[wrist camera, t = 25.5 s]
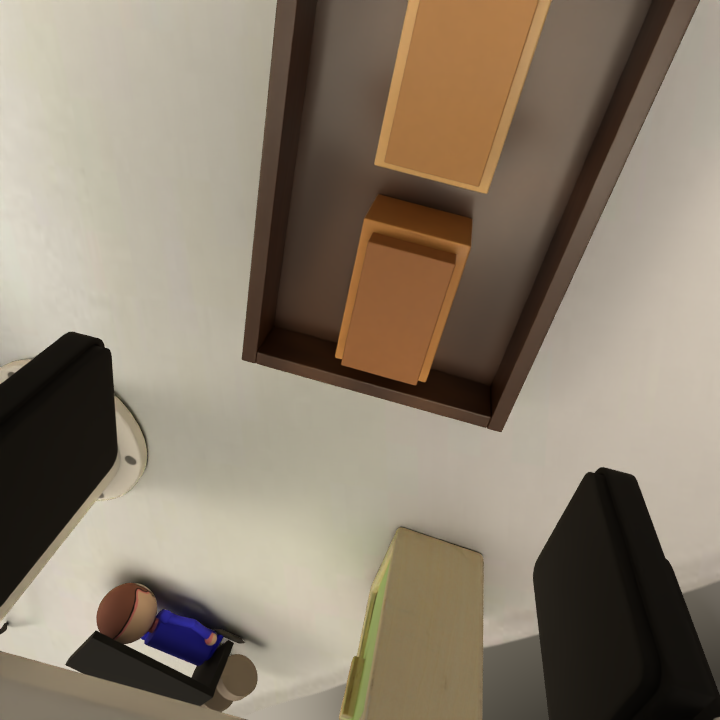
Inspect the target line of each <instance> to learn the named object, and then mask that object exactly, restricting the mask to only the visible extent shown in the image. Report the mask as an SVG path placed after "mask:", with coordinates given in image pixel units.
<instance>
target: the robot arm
mask: <svg viewBox="0 0 720 720" xmlns="http://www.w3.org/2000/svg"><path fill="white" fill-rule="evenodd" d="M146 464H147V449H146V444H145V439H144V437H143V434H142V432H141V430H140V427H139V425H138V424H137V422H136V420H135V419H134V417H133V416H132V414H131V413H130V411H129V410H128V409H127V408H126V407H125V406H124V404H123V403H122V402H121V401H120V400H119V399H118V398H117V397H116V396H115V395H114V385H113V370H112V356H111V352H110V350H109V349H108V348H105V347H104V343H103V341H102V340H101V339H99V338H95V337H91V336H87V335H83V334H79V333H76V332H68V333H66V334H64V335H63V336H62V337H60V338H59V339H58V340H57V341H55V342H54V343H53V344H51V345H50V346H49V347H48V348H46V349H45V350H44V351H42V352H41V353H40V354H39V355H37V356H36V357H35V358H33V359H24V360H18V361H13V362H11V363H8V364H6V365H4V366H2V367H1V368H0V622H1V621H2V619H3V618H4V617H5V616H6V614H7V613H8V612H9V610H10V609H11V608H12V607H13V605H14V604H15V603H16V602H17V600H18V599H19V598H20V597H21V595H22V594H23V593H24V591H25V590H26V589H27V588H28V586H29V585H30V584H31V583H32V581H33V580H34V579H35V577H36V576H37V575H38V574H39V572H40V571H41V570H42V569H43V567H44V566H45V565H46V564H47V562H48V561H49V560H50V558H51V557H52V556H53V555H54V553H55V552H56V551H57V550H58V548H59V547H60V546H61V544H62V543H63V542H64V541H65V539H66V538H67V537H68V536H69V534H70V533H71V532H72V530H73V529H74V528H75V527H76V525H77V524H78V523H79V522H80V520H81V519H82V518H83V517H84V515H85V514H86V513H87V511H88V510H89V509H90V508H91V506H92V505H93V504H94V503H95V501H105V500H111V499H114V498H118V497H120V496H122V495H124V494H126V493H127V492H129V491H130V490H131V489H132V488H133V487H134V486H135V485H136V483H137V482H138V480H139V479H140V477H141V476H142V474H143V473H144V470H145V467H146ZM533 583H534V592H535V601H536V610H537V618H538V627H539V636H540V644H541V653H542V662H543V671H544V680H545V688H546V697H547V706H548V715H549V720H720V695H719V692H718V690H717V686H716V684H715V681H714V678H713V676H712V673H711V670H710V668H709V665H708V662H707V660H706V657H705V654H704V651H703V649H702V646H701V643H700V641H699V638H698V635H697V632H696V630H695V627H694V624H693V622H692V619H691V616H690V614H689V611H688V608H687V606H686V603H685V601H684V598H683V595H682V592H681V589H680V587H679V584H678V581H677V579H676V576H675V573H674V571H673V568H672V566H671V565H670V563H669V561H668V560H667V559H666V558H665V556H664V553H663V551H662V548H661V545H660V542H659V540H658V537H657V534H656V531H655V529H654V526H653V523H652V520H651V518H650V515H649V512H648V509H647V507H646V504H645V501H644V498H643V496H642V493H641V490H640V488H639V485H638V482H637V480H636V478H635V477H634V476H633V475H631V474H628V473H624V472H620V471H616V470H612V469H608V468H604V467H601V468H599V469H598V470H597V471H596V472H595V473H592V472H588V473H586V475H585V476H584V477H583V479H582V481H581V483H580V485H579V486H578V488H577V490H576V492H575V493H574V495H573V497H572V499H571V500H570V502H569V504H568V506H567V507H566V509H565V511H564V513H563V515H562V516H561V518H560V520H559V522H558V523H557V525H556V527H555V529H554V530H553V532H552V534H551V536H550V538H549V539H548V541H547V543H546V545H545V546H544V548H543V550H542V552H541V553H540V555H539V557H538V559H537V561H536V563H535V566H534V572H533ZM0 720H246V719H243V718H240V717H236V716H233V715H229V714H225V713H222V712H218V711H215V710H211V709H208V708H204V707H200V706H197V705H193V704H190V703H186V702H183V701H179V700H176V699H172V698H168V697H165V696H161V695H158V694H154V693H151V692H147V691H143V690H140V689H136V688H133V687H129V686H125V685H122V684H118V683H114V682H111V681H107V680H104V679H100V678H96V677H93V676H89V675H85V674H82V673H78V672H75V671H71V670H67V669H64V668H60V667H56V666H53V665H49V664H46V663H42V662H38V661H35V660H31V659H27V658H24V657H20V656H17V655H13V654H9V653H6V652H2V651H0Z"/></svg>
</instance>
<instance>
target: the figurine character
mask: <svg viewBox="0 0 720 720" xmlns="http://www.w3.org/2000/svg"><path fill="white" fill-rule="evenodd" d="M156 614H157V602H156V599H155V596H154V594H153V593H152V592H151V590H150V589H148V588H147V587H146V586H144V585H142V584H139V583H125V584H122V585H119V586H117V587H115V588H114V589H112V590H111V591H110V592H109V593H108V594H107V595H106V596H105V597H104V598H103V600H102V601H101V603H100V605H99V608H98V611H97V626H98V629H99V631H100V632H98V631H95V632H94V633H93V634H92V635H91V636H90V637H89V638H88V639H87V640H86V641H85V642H84V643H83V644H82V645H81V646H80V647H79V648H78V649H77V650H76V651H75V653H74V654H73V655H72V656H71V657H70V658H69V659H68V661H67V663H66V664H65V665H66V666H68V667H71V668H73V669H75V670H77V671H79V672H81V673H83V674H85V675H89V676H93V677H96V678H100V679H104V680H107V681H111V682H114V683H118V684H122V685H125V686H129V687H133V688H136V689H140V690H143V691H147V692H151V693H154V694H158V695H161V696H165V697H168V698H172V699H176V700H179V701H183V702H186V703H190V704H193V705H197V706H200V707H204V708H208V709H211V710H215V711H218V712H222V711H224V710H225V709H227V708H228V707H229V706H230V705H231V704H232V702H233V701H238V700H241V699H243V698H244V697H246V696H247V695H249V694H250V693H251V692H252V691H253V690H254V689H255V687H256V684H257V671H256V668H255V666H254V664H253V663H252V661H251V660H250V659H249V658H247V657H246V656H244V655H240V654H234V655H231V656H229V654H230V653H231V649H232V647H233V644H234V643H233V642H231V641H230V640H232V641H234V642H237V643H245V642H244V641H243V640H242V638H240V637H238V636H235V635H233V634H231V633H228V632H226V631H224V630H222V629H214V630H215V631H213V630H211V629H209V628H206V627H205V626H203V625H202V624H201V623H199V622H198V621H197V620H196V619H192V618H188V617H183V616H179V615H176V614H174V613H172V612H170V611H169V610H165V609H162V610H161V611H160V612H159V613H158V615H157V616H156ZM216 633H217V635H216ZM223 637H225V638H228V639H230V640H228V641H226V642H225V643H224V644H222V645H221V644H220V642H221V641H222V639H223ZM140 638H141V639H142V640H145V642H144V643H145V644H146V645H148V646H150V647H153V648H155V649H158V650H160V651H163V652H165V653H168V654H170V655H172V656H175V657H177V658H180V659H182V660H185V661H186V662H190V663H192V664H194V665H197V667H196V669H195V671H194V673H193V676H192V678H190V677H188V676H186V675H184V674H182V673H180V672H178V671H176V670H174V669H172V668H170V667H168V666H166V665H164V664H162V663H160V662H158V661H156V660H154V659H152V658H150V657H148V656H146V655H144V654H142V653H140V652H138V651H136V650H134V649H132V648H130V647H128V646H126V645H124V644H128V643H132V642H134V641H136V640H138V639H140Z"/></svg>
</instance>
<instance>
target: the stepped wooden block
mask: <svg viewBox="0 0 720 720" xmlns="http://www.w3.org/2000/svg"><path fill="white" fill-rule="evenodd" d="M551 1H552V0H408V5H407V10H406V14H405V19H404V24H403V29H402V34H401V38H400V43H399V48H398V53H397V57H396V62H395V67H394V72H393V76H392V81H391V86H390V91H389V95H388V100H387V105H386V110H385V114H384V119H383V124H382V129H381V133H380V138H379V143H378V148H377V152H376V157H375V162H374V165H376V166H380V167H384V168H388V169H392V170H395V171H399V172H403V173H407V174H411V175H415V176H419V177H422V178H426V179H430V180H434V181H438V182H442V183H445V184H449V185H453V186H457V187H461V188H465V189H469V190H472V191H476V192H480V193H484V194H487V193H488V191H489V188H490V185H491V182H492V179H493V176H494V173H495V170H496V167H497V164H498V161H499V158H500V155H501V152H502V149H503V146H504V143H505V140H506V137H507V134H508V131H509V128H510V125H511V122H512V119H513V116H514V113H515V110H516V107H517V104H518V101H519V98H520V95H521V92H522V89H523V86H524V82H525V79H526V76H527V73H528V70H529V67H530V64H531V61H532V58H533V55H534V52H535V49H536V46H537V43H538V40H539V37H540V34H541V31H542V28H543V25H544V22H545V19H546V16H547V13H548V10H549V7H550V4H551Z"/></svg>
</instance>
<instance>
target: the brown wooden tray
mask: <svg viewBox="0 0 720 720" xmlns="http://www.w3.org/2000/svg"><path fill="white" fill-rule="evenodd" d="M699 1H700V0H552V1H551V4H550V7H549V10H548V13H547V16H546V19H545V22H544V25H543V28H542V31H541V34H540V37H539V40H538V43H537V46H536V49H535V52H534V55H533V58H532V61H531V64H530V67H529V70H528V73H527V76H526V79H525V82H524V86H523V89H522V92H521V95H520V98H519V101H518V104H517V107H516V110H515V113H514V116H513V119H512V122H511V125H510V128H509V131H508V134H507V137H506V140H505V143H504V146H503V149H502V152H501V155H500V158H499V161H498V164H497V167H496V170H495V173H494V176H493V179H492V182H491V185H490V188H489V191H488V193H487V194H484V193H480V192H476V191H472V190H469V189H465V188H461V187H457V186H453V185H449V184H445V183H442V182H438V181H434V180H430V179H426V178H422V177H419V176H415V175H411V174H407V173H403V172H399V171H395V170H392V169H388V168H384V167H380V166H376V165H374V162H375V157H376V152H377V148H378V143H379V138H380V133H381V129H382V124H383V119H384V114H385V110H386V105H387V100H388V95H389V91H390V86H391V81H392V76H393V72H394V67H395V62H396V57H397V53H398V48H399V43H400V38H401V34H402V29H403V24H404V19H405V14H406V10H407V5H408V0H277V8H276V18H275V28H274V38H273V48H272V59H271V69H270V79H269V89H268V99H267V109H266V119H265V130H264V140H263V150H262V160H261V170H260V180H259V190H258V200H257V211H256V221H255V231H254V241H253V251H252V261H251V271H250V282H249V292H248V302H247V312H246V322H245V332H244V342H243V352H242V360H244V361H248V362H252V363H257V364H260V365H263V366H267V367H270V368H274V369H277V370H281V371H285V372H288V373H292V374H295V375H299V376H303V377H306V378H310V379H313V380H317V381H320V382H324V383H328V384H331V385H335V386H338V387H342V388H345V389H349V390H353V391H356V392H360V393H363V394H367V395H370V396H374V397H378V398H381V399H385V400H388V401H392V402H395V403H399V404H403V405H406V406H410V407H413V408H417V409H421V410H424V411H428V412H431V413H435V414H438V415H442V416H446V417H449V418H453V419H456V420H460V421H463V422H467V423H471V424H474V425H478V426H481V427H485V428H488V429H491V430H495V431H498V432H502V430H503V428H504V425H505V423H506V421H507V419H508V417H509V415H510V412H511V410H512V408H513V406H514V404H515V401H516V399H517V397H518V395H519V393H520V391H521V388H522V386H523V384H524V382H525V380H526V378H527V375H528V373H529V371H530V369H531V367H532V365H533V362H534V360H535V358H536V356H537V354H538V351H539V349H540V347H541V345H542V343H543V341H544V338H545V336H546V334H547V332H548V330H549V328H550V325H551V323H552V321H553V319H554V317H555V314H556V312H557V310H558V308H559V306H560V304H561V301H562V299H563V297H564V295H565V293H566V291H567V288H568V286H569V284H570V282H571V280H572V278H573V275H574V273H575V271H576V269H577V267H578V264H579V262H580V260H581V258H582V256H583V254H584V251H585V249H586V247H587V245H588V243H589V241H590V238H591V236H592V234H593V232H594V230H595V227H596V225H597V223H598V221H599V219H600V217H601V214H602V212H603V210H604V208H605V206H606V204H607V201H608V199H609V197H610V195H611V193H612V191H613V188H614V186H615V184H616V182H617V180H618V177H619V175H620V173H621V171H622V169H623V167H624V164H625V162H626V160H627V158H628V156H629V154H630V151H631V149H632V147H633V145H634V143H635V140H636V138H637V136H638V134H639V132H640V130H641V127H642V125H643V123H644V121H645V119H646V117H647V114H648V112H649V110H650V108H651V106H652V104H653V101H654V99H655V97H656V95H657V93H658V90H659V88H660V86H661V84H662V82H663V80H664V77H665V75H666V73H667V71H668V69H669V67H670V64H671V62H672V60H673V58H674V56H675V53H676V51H677V49H678V47H679V45H680V43H681V40H682V38H683V36H684V34H685V32H686V30H687V27H688V25H689V23H690V21H691V19H692V17H693V14H694V12H695V10H696V8H697V6H698V3H699ZM378 194H380V195H383V196H387V197H391V198H395V199H399V200H403V201H406V202H410V203H414V204H418V205H422V206H425V207H429V208H433V209H437V210H441V211H444V212H448V213H452V214H456V215H460V216H464V217H467V218H471V219H472V220H473V221H472V241H471V249H470V252H469V255H468V258H467V261H466V264H465V267H464V270H463V273H462V276H461V279H460V282H459V285H458V288H457V291H456V294H455V297H454V300H453V303H452V306H451V309H450V312H449V315H448V318H447V321H446V324H445V327H444V330H443V333H442V336H441V339H440V342H439V345H438V348H437V351H436V354H435V357H434V360H433V363H432V366H431V369H430V372H429V375H428V378H427V381H426V382H421V381H418V382H417V385H412V384H408V383H404V382H401V381H397V380H394V379H390V378H386V377H383V376H379V375H376V374H372V373H368V372H365V371H361V370H358V369H354V368H350V367H347V366H343V365H341V361H342V359H339V358H336V357H335V353H336V348H337V344H338V339H339V334H340V329H341V325H342V320H343V315H344V311H345V306H346V301H347V297H348V292H349V287H350V282H351V278H352V273H353V268H354V264H355V259H356V254H357V249H358V245H359V240H360V235H361V231H362V226H363V221H364V218H365V216H366V215H367V213H368V211H369V209H370V207H371V206H372V204H373V202H374V200H375V199H376V197H377V195H378Z"/></svg>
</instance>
